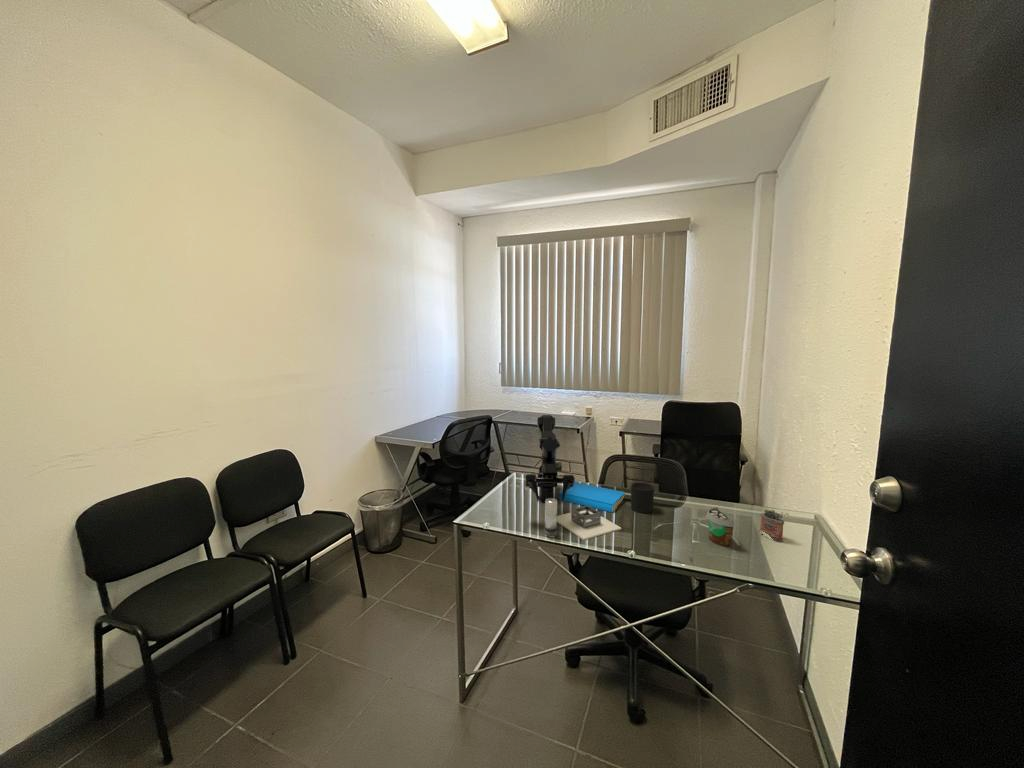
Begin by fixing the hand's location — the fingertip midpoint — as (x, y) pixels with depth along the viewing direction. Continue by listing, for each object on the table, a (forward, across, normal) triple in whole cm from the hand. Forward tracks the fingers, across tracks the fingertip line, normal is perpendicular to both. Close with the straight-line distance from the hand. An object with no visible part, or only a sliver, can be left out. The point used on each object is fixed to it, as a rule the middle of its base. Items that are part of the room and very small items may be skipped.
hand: (550, 501), depth 150 cm
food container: (+12, +59, +4) cm, 60 cm away
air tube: (+10, 0, +5) cm, 12 cm away
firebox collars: (+4, +14, +11) cm, 19 cm away
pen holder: (-7, +40, +22) cm, 46 cm away
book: (-13, +21, +29) cm, 38 cm away
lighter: (+10, +80, +6) cm, 81 cm away
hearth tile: (+4, +14, +11) cm, 19 cm away
